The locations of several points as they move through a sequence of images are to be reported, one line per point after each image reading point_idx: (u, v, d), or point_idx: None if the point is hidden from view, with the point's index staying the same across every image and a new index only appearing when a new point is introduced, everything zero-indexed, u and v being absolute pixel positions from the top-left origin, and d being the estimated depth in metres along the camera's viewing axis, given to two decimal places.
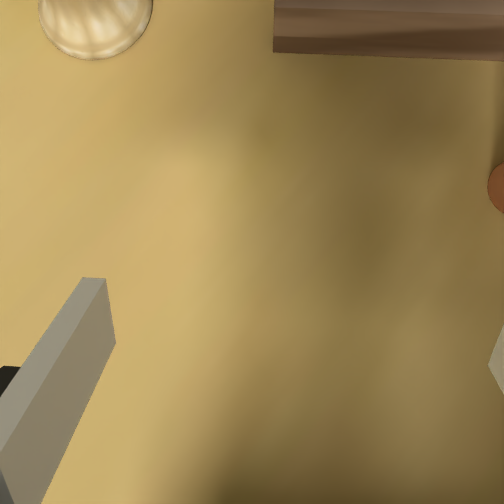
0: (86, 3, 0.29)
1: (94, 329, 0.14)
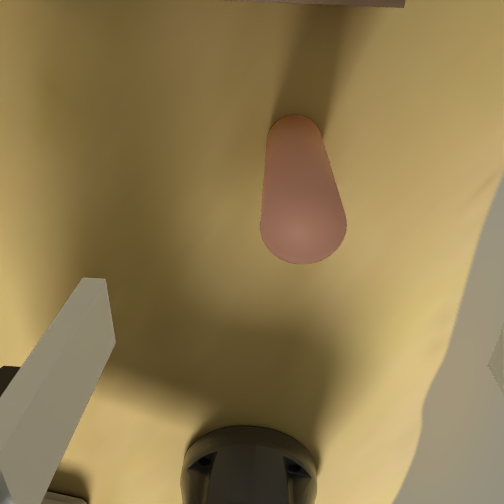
0: None
1: (94, 329, 0.14)
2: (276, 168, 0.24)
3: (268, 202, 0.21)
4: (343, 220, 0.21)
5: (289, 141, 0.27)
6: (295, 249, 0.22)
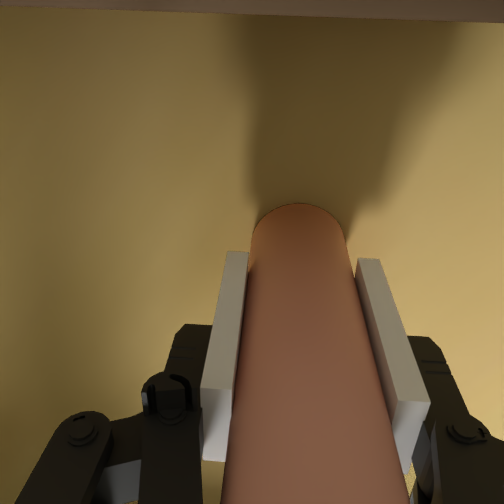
0: None
1: (245, 295, 0.16)
2: (255, 410, 0.10)
3: None
4: None
5: (288, 298, 0.13)
6: None
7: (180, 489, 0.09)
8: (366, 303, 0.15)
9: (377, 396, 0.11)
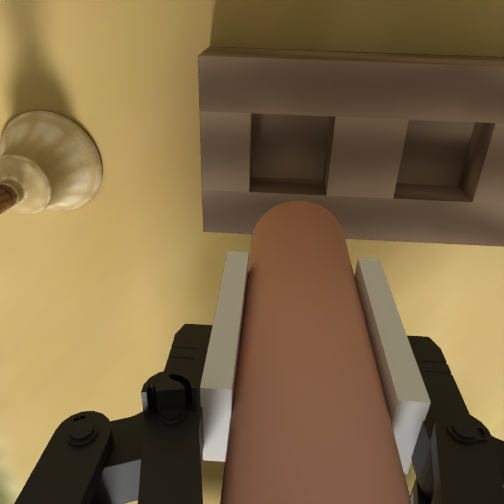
0: (49, 205, 0.35)
1: None
2: (256, 402, 0.10)
3: None
4: None
5: (288, 294, 0.13)
6: None
7: (181, 489, 0.09)
8: (366, 303, 0.15)
9: (376, 389, 0.11)
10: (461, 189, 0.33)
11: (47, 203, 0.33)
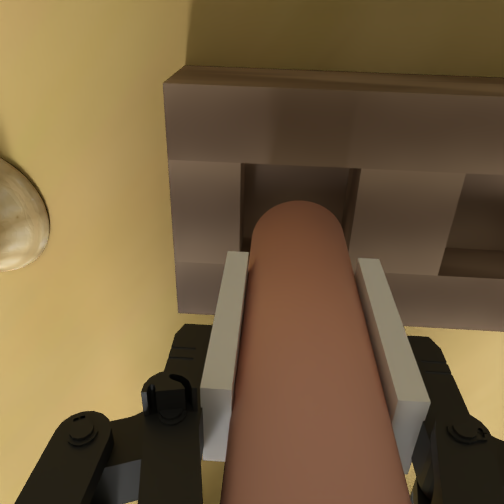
0: None
1: None
2: (256, 402, 0.10)
3: None
4: None
5: (288, 293, 0.13)
6: None
7: (181, 489, 0.09)
8: (366, 303, 0.15)
9: (376, 389, 0.11)
10: None
11: None
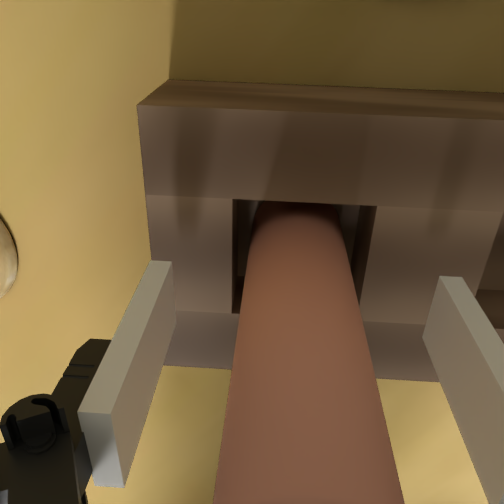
0: None
1: (164, 307, 0.15)
2: (253, 359, 0.11)
3: None
4: None
5: (285, 269, 0.14)
6: None
7: None
8: (459, 326, 0.14)
9: (363, 351, 0.12)
10: None
11: None
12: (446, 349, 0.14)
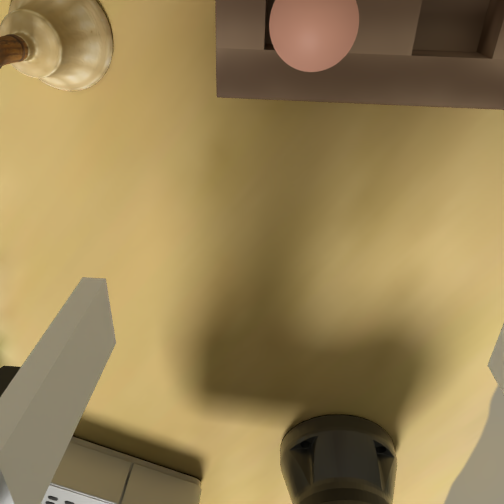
0: (59, 74, 0.34)
1: (94, 329, 0.14)
2: None
3: None
4: (355, 14, 0.20)
5: None
6: (305, 52, 0.21)
7: None
8: None
9: None
10: (480, 52, 0.33)
11: (58, 66, 0.33)
12: None
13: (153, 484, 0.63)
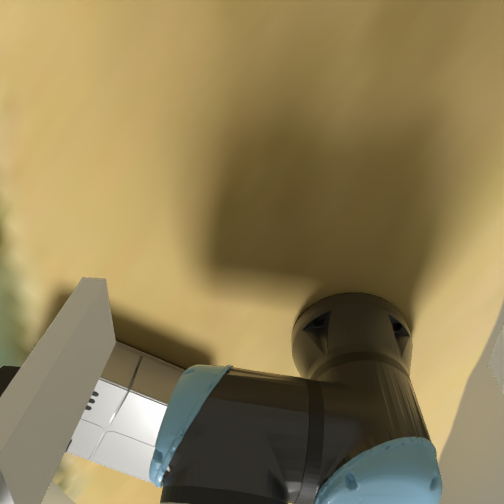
0: None
1: (94, 329, 0.14)
2: None
3: None
4: None
5: None
6: None
7: None
8: None
9: None
10: None
11: None
12: None
13: (162, 376, 0.61)
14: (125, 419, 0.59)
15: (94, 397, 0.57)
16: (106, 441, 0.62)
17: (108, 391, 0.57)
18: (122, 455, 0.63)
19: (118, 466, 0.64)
